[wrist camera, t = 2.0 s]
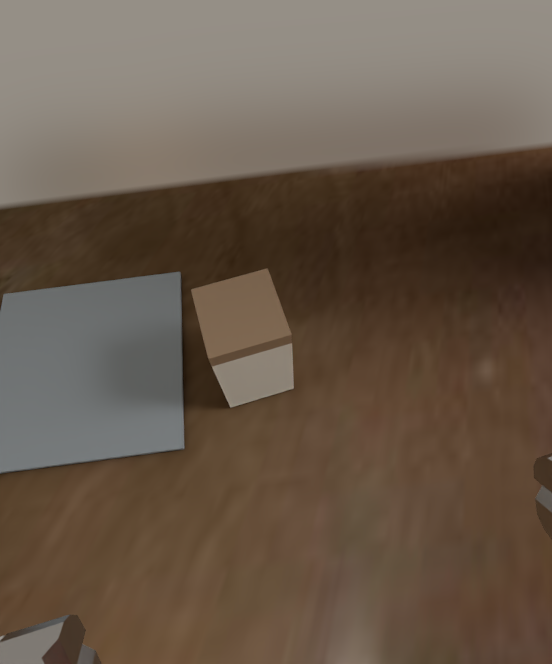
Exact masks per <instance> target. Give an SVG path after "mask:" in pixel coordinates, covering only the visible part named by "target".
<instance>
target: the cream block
mask: <svg viewBox="0 0 552 664" xmlns="http://www.w3.org/2000/svg"><path fill="white" fill-rule="evenodd" d="M191 292H192V296H193V300H194V304H195V308H196V312H197V316H198V320H199V324H200V328H201V332H202V336H203V340H204V344H205V348H206V352H207V356H208V359H209V362H210V364H211V366H212V368H213V370H214V373H215V375H216V377H217V379H218V381H219V384H220V386H221V388H222V390H223V392H224V395H225V397H226V399H227V401H228V403H229V406H230V408H231V407H235V406H238V405H241V404H244V403H248V402H251V401H254V400H258V399H261V398H264V397H267V396H271V395H274V394H277V393H281V392H284V391H287V390H290V389H294V380H293V355H292V334H291V331H290V329H289V326H288V323H287V320H286V318H285V315H284V312H283V309H282V306H281V304H280V301H279V298H278V295H277V293H276V290H275V287H274V284H273V282H272V279H271V276H270V273H269V271H268V268H267V269H263V270H259V271H256V272H252V273H249V274H245V275H241V276H238V277H234V278H230V279H227V280H223V281H220V282H216V283H212V284H209V285H205V286H201V287H198V288H194V289H191Z"/></svg>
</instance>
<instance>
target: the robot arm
mask: <svg viewBox="0 0 552 664" xmlns="http://www.w3.org/2000/svg"><path fill="white" fill-rule="evenodd" d="M534 478H535V479H536V480H537V481H538V482H539V483H540V484H541V485H542V487H541V489H540V491H539V493H538V495H537V497H536V498H535V500H536V509H537V515H538V517H539V519H540V522H541V524H542V526H543V528H544V530H545V531H546V533H547V534H548V535H549V537H550V538H551V539H552V453H551V454H548V455H545V456H542V457H539V458H537V459H536V461H535V464H534ZM85 631H86V630H85V628H84V626H83V625H82V623H81V621H80V619H79V617H78V615H67V616H63V617H60V618H57V619H54V620H50V621H47V622H44V623H41V624H37V625H34V626H31V627H28V628H24V629H21V630H18V631H15V632H11V633H8V634H6V635H5V636H1V637H0V664H101V661H100V659H99V657H98V655H97V653H96V651H95V650H93V649H91V648H89V647H87V646H85V645H83V644H82V643H83V639H84V635H85Z"/></svg>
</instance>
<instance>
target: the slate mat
mask: <svg viewBox="0 0 552 664" xmlns="http://www.w3.org/2000/svg"><path fill="white" fill-rule="evenodd" d="M182 449H184V407H183V356H182V304H181V273H180V272H173V273H166V274H158V275H150V276H142V277H134V278H126V279H119V280H111V281H103V282H95V283H87V284H79V285H72V286H64V287H56V288H48V289H40V290H32V291H25V292H17V293H9V294H4V296H3V301H2V305H1V310H0V473H8V472H15V471H23V470H31V469H38V468H46V467H53V466H61V465H68V464H76V463H84V462H91V461H99V460H106V459H114V458H121V457H129V456H137V455H144V454H152V453H159V452H167V451H174V450H182Z"/></svg>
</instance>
